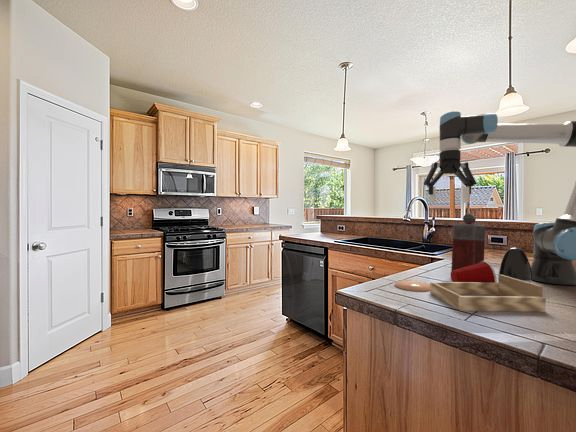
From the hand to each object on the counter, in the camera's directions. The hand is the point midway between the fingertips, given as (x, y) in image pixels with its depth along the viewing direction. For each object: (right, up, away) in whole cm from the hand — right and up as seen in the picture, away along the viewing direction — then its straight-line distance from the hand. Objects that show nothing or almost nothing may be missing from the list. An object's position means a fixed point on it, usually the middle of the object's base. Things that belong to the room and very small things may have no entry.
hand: (449, 202), depth 115 cm
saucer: (-18, -33, -8) cm, 38 cm away
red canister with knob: (+11, -33, +5) cm, 35 cm away
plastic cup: (-4, -29, -10) cm, 31 cm away
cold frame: (-5, -33, -26) cm, 42 cm away
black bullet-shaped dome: (+22, -33, -6) cm, 40 cm away
